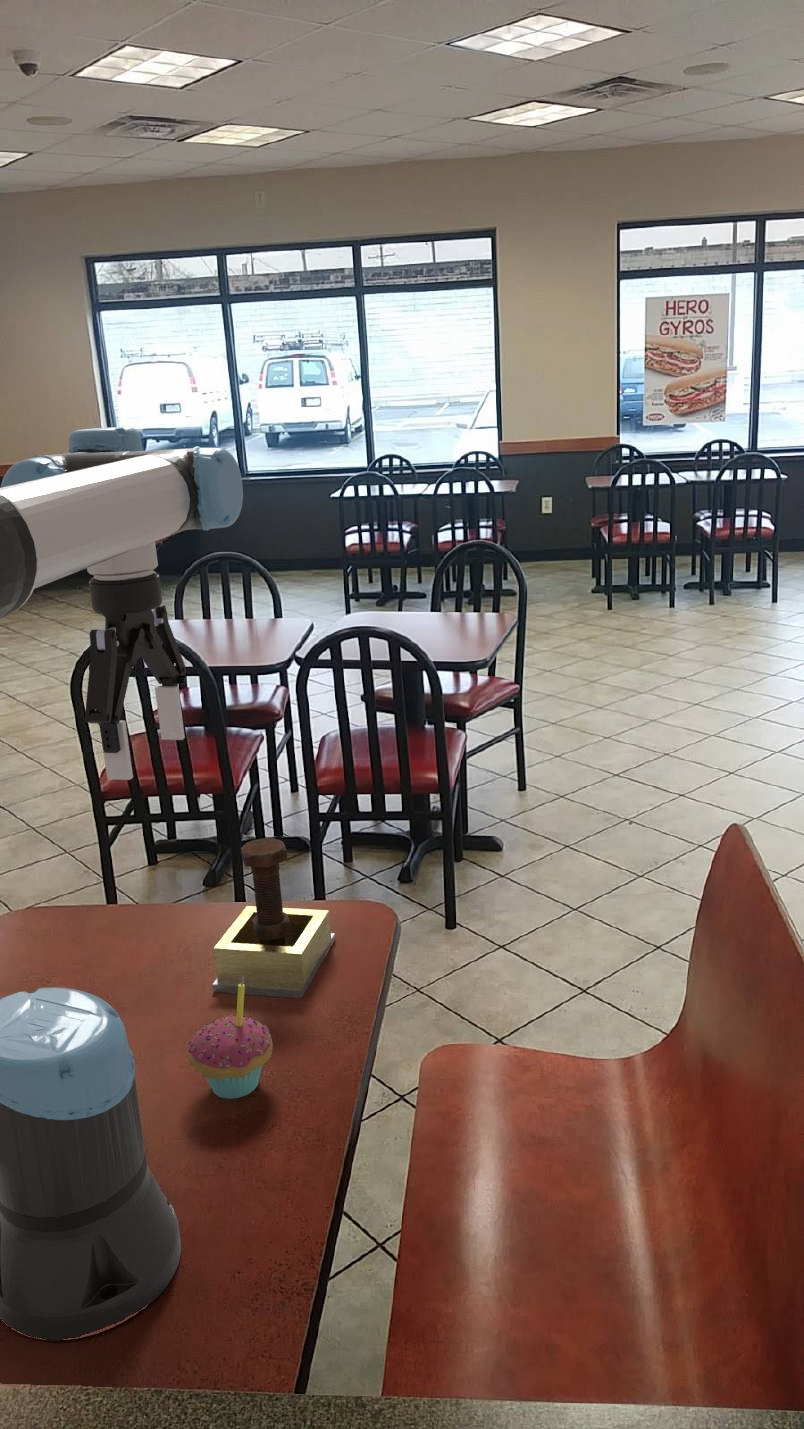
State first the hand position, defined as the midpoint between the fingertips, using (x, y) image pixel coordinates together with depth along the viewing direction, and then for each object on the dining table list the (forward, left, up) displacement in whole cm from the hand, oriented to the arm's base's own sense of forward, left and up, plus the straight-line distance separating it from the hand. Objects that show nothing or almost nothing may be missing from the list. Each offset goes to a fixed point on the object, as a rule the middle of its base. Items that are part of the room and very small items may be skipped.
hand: (148, 757), depth 126 cm
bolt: (+5, -11, -28) cm, 30 cm away
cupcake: (-19, -15, -29) cm, 38 cm away
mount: (+5, -11, -29) cm, 31 cm away
